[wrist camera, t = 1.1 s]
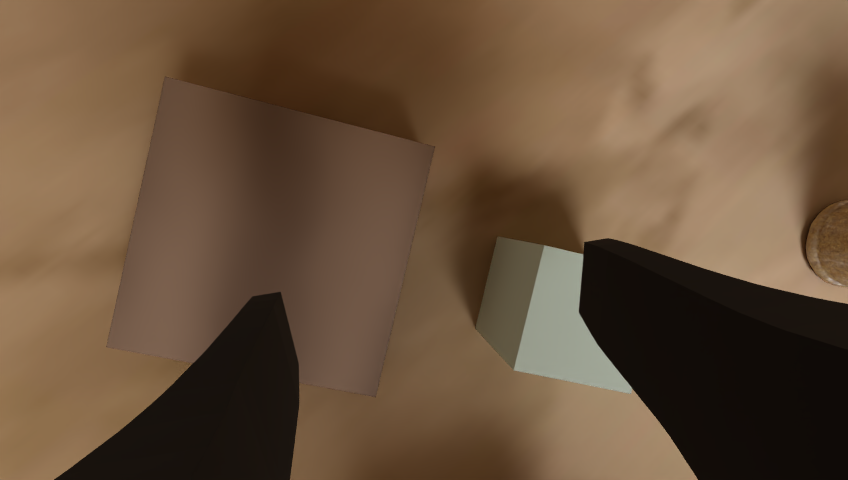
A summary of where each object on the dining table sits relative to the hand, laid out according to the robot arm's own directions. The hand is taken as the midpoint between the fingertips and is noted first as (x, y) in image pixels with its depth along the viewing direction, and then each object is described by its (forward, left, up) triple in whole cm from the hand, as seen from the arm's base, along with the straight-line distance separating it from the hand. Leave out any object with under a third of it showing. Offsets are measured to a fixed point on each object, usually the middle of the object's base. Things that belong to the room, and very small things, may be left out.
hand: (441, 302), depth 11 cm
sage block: (-6, 0, -11) cm, 12 cm away
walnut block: (+5, 0, -11) cm, 12 cm away
